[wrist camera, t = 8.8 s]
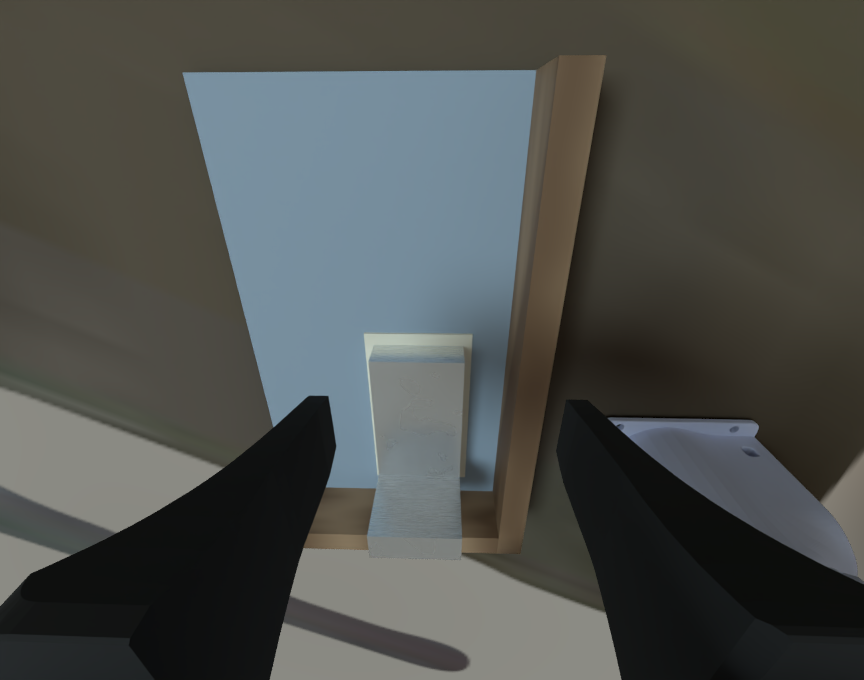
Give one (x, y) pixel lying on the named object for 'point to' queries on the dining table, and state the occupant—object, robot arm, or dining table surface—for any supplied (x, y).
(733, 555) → the robot arm
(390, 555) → the bracket
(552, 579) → the dining table surface
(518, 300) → the walls
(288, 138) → the mat
